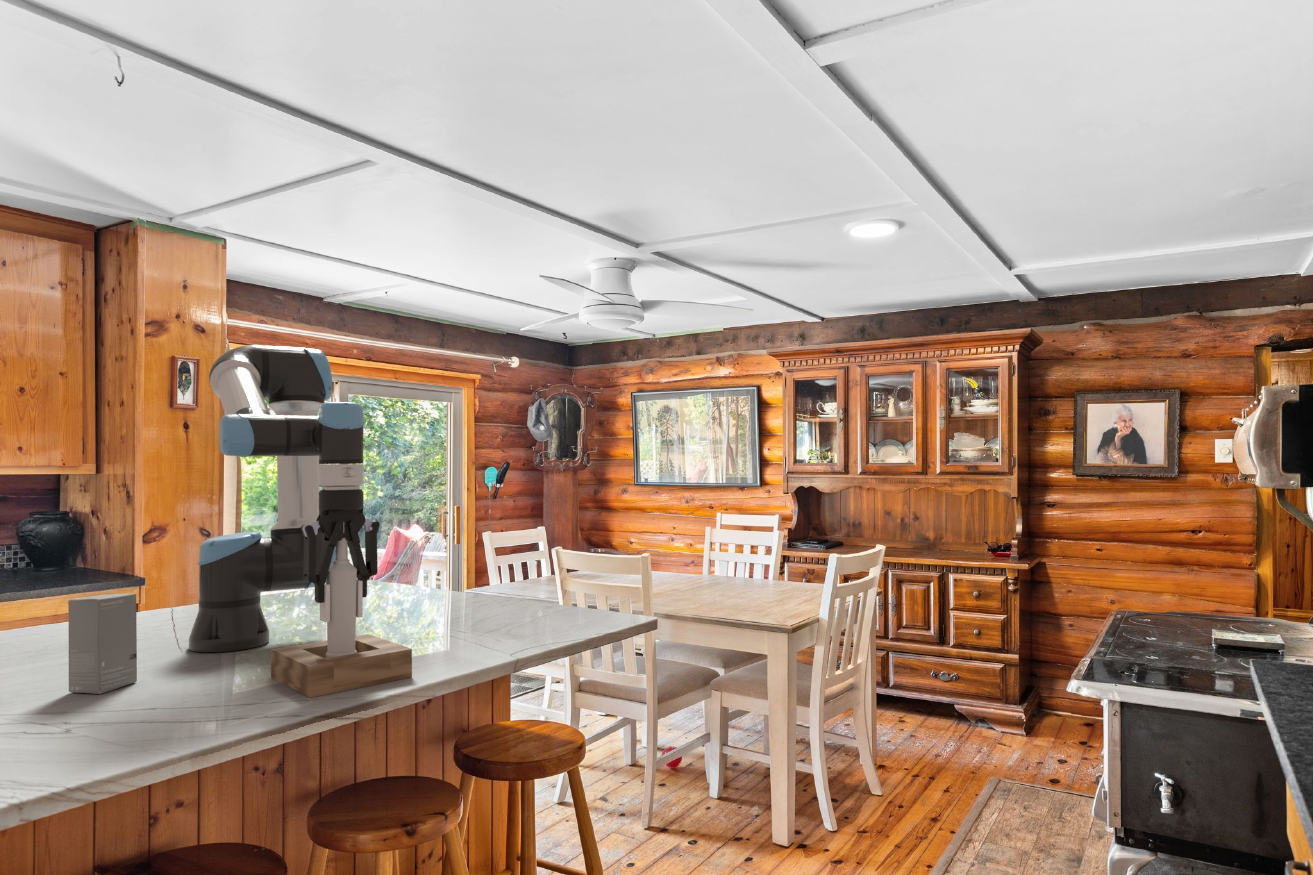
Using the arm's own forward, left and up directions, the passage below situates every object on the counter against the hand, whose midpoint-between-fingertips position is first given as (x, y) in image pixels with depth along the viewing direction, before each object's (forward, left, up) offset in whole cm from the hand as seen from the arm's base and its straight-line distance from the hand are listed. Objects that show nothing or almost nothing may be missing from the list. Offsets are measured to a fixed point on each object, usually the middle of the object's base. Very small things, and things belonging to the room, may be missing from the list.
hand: (341, 618), depth 148 cm
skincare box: (-23, -32, -11) cm, 41 cm away
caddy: (0, 0, -10) cm, 10 cm away
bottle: (0, 0, -8) cm, 8 cm away
